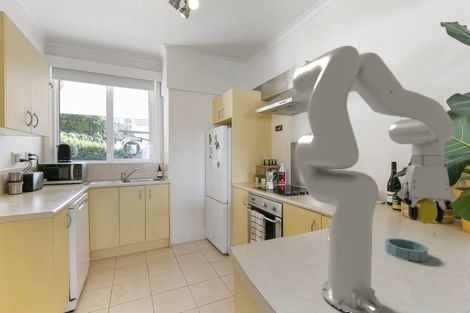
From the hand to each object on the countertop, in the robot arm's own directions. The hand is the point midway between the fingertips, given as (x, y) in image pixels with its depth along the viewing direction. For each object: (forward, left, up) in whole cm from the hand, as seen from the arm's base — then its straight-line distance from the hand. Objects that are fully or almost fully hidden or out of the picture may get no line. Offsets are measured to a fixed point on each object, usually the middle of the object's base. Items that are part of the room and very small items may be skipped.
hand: (425, 219), depth 69 cm
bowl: (+11, -6, -16) cm, 20 cm away
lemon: (0, 0, -2) cm, 2 cm away
